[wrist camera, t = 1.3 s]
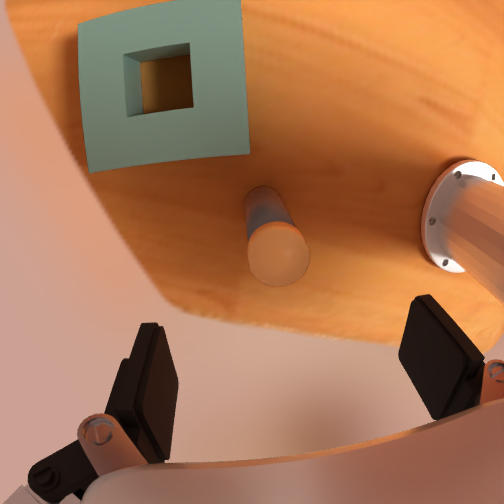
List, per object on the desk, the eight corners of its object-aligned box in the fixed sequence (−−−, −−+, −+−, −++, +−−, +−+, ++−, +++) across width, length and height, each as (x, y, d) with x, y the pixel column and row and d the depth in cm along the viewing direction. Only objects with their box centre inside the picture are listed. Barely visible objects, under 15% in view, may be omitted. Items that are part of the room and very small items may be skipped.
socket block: (239, 12, 21) (240, -7, 17) (247, 147, 26) (250, 154, 22) (100, 34, 20) (78, 24, 16) (109, 163, 25) (89, 173, 21)
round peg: (281, 184, 27) (310, 228, 17) (283, 221, 28) (309, 283, 18) (241, 186, 27) (246, 232, 17) (244, 224, 28) (250, 289, 18)
